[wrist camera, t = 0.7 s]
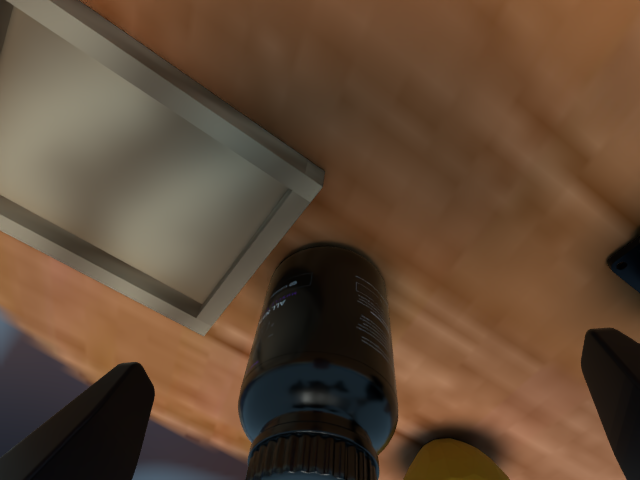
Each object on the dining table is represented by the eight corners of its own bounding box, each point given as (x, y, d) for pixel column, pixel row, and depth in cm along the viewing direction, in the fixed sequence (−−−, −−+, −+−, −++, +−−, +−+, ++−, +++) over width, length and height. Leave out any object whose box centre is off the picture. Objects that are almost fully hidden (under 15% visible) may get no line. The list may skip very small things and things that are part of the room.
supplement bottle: (262, 241, 23) (194, 446, 13) (388, 240, 23) (418, 453, 13) (275, 333, 27) (229, 549, 17) (384, 334, 26) (405, 558, 16)
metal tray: (324, 171, 21) (322, 186, 19) (212, 315, 26) (203, 336, 25) (8, -49, 17) (-26, -52, 15) (-47, 176, 22) (-76, 190, 21)
